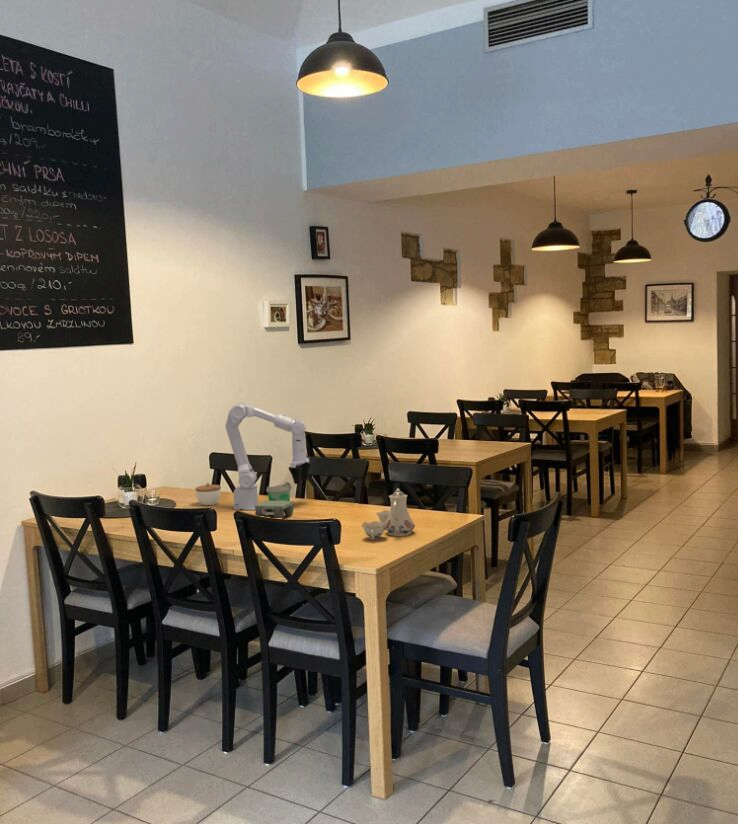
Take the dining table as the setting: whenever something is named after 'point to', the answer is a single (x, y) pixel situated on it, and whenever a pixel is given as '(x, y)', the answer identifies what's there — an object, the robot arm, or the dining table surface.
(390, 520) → the chinaware
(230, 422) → the robot arm
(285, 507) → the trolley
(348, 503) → the dining table surface
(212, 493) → the lidded jar
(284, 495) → the food container
